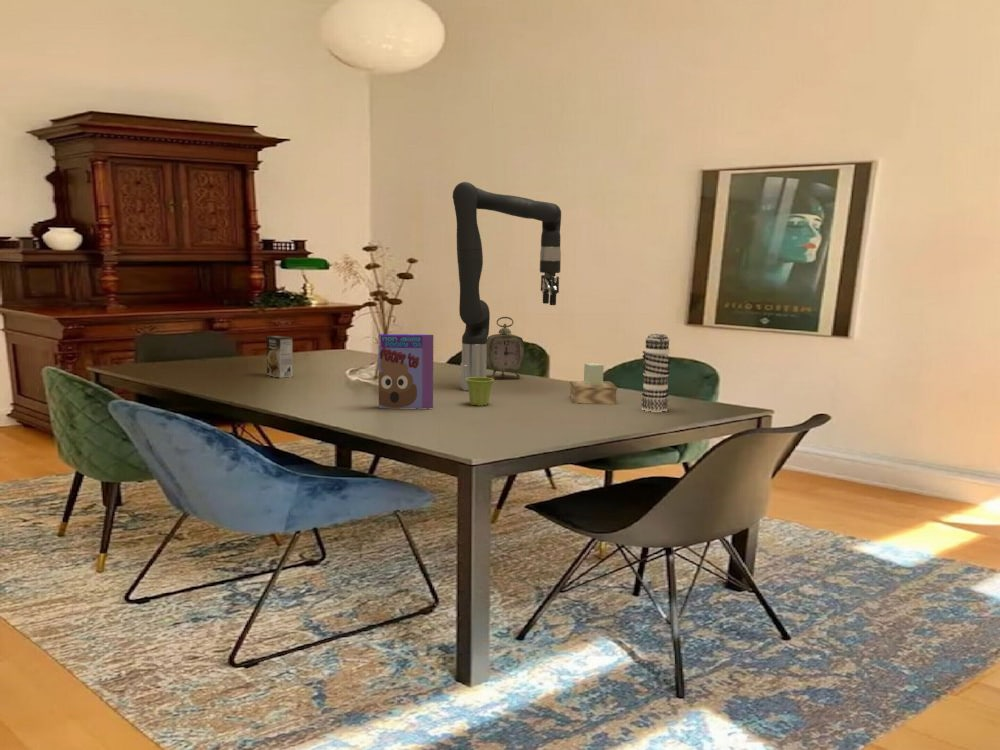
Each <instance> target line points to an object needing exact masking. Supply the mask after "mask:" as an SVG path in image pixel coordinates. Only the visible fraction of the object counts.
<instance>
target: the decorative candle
mask: <svg viewBox="0 0 1000 750" xmlns="http://www.w3.org/2000/svg"><path fill="white" fill-rule="evenodd" d="M670 341H671V339H670V338H669V337H668V335H666V334H662V333H651V334H649V335H647V338H645V347H644V350H643V351H642V354H643V355H642V358H643V359H644V360H643V361H642V365H643V366H642V369H643V370H644V371H643V372H642V375H643V386H642V387H643V388H641V390H642V393H641V395H642V396H643V397H642V398H641V402H642V403H641V406H642V407H641V410H642V411H643V410H645V411H644V412H648V411H651V412H650V413H663V412H662V411H666V412H668V411H667V410H668V407H669V404H668V402H669V399H668V398H667V397H669V394H668V392H669V388H668V386H669V385H668V377H669V376H670V374H671V373H670V372H669V371H670V370H671V368H670V367H669V365H670V364H671V363H672V362H671V361H670V360H672V358H671V356H669V354H670Z"/></svg>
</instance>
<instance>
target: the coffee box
mask: <svg viewBox="0 0 1000 750" xmlns="http://www.w3.org/2000/svg"><path fill="white" fill-rule="evenodd" d="M265 338H266V340H265V341H266V345H265V347H266V375H270V376H275V377H289V378H293V377H294V375H293V374H294V373H293V371H294V369H293V367H294V366H293V364H294V363H293V362H294V361H293V337H291V336H284V335H267V336H266V337H265ZM270 376H269V377H270ZM292 376H293V377H292ZM275 377H274V378H275Z"/></svg>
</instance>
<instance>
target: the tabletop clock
mask: <svg viewBox="0 0 1000 750" xmlns="http://www.w3.org/2000/svg"><path fill="white" fill-rule="evenodd" d="M502 319H508V320H510V321H511V322H512V323H511V324H509V325H507V323H503V325H501V324H499V323H498V322H499V321H500V320H502ZM496 325H497V326H498V327H501V328H500V329H499V331H498V334H497V333H496V334H491V335H488V338H487V367H488V368H490V370H493V372H492V375H490V378H492V379H494V380H495V378H496V377H495V375H496V372H502V373H501V374H500V377H501V378H502V377H503V378H505V377H506V376H505V374H504V373H505V372H514V373H515V375H516V379H518V378H519V379H520V378H521V375H520V374H518V372H517V371H520V370H521V369H522V368H523V366H524V361H525V353H526V352H525V344H524V339H523V337H520V336H518V335H515V334H512V331H511V329H509V327H512V326H513V325H514V320H513V319H512V317H509V316H501V317H499V318H497V320H496ZM519 379H518V380H519Z"/></svg>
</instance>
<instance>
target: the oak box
mask: <svg viewBox="0 0 1000 750" xmlns="http://www.w3.org/2000/svg"><path fill="white" fill-rule="evenodd" d="M569 384H570V396H571V397H570V396H569V397H570V399H571V400H572V399H573V400H572V402H575V403H589V404H588V405H617V391H618V387H617V386H616V385H615V384H614V383H613V382H611V381H607V380H605V381H604V380H603V385H592V386H589V385H587V384H584V380H583V381H582V380H570V381H569ZM575 403H574V404H575ZM590 403H591V404H590Z"/></svg>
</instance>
